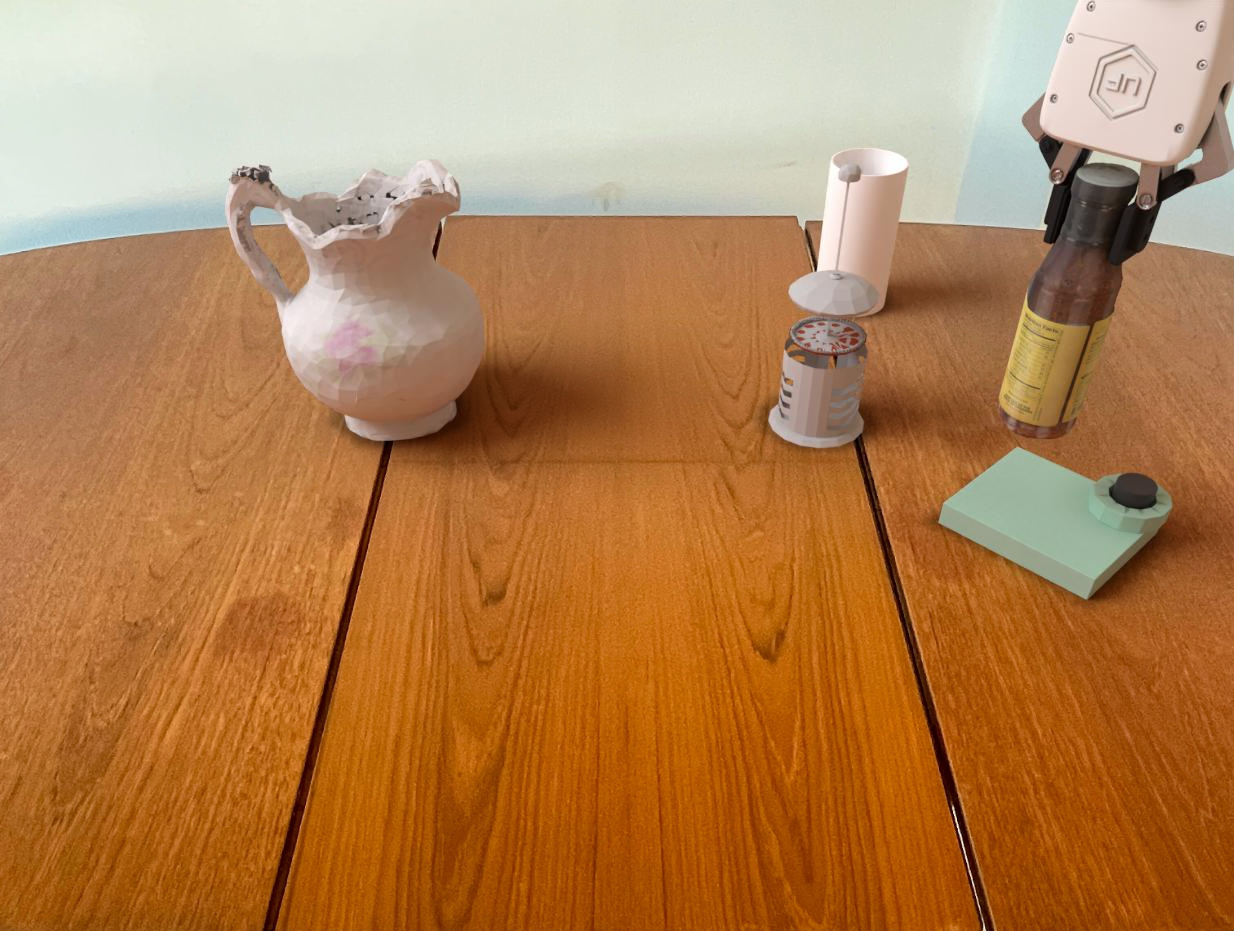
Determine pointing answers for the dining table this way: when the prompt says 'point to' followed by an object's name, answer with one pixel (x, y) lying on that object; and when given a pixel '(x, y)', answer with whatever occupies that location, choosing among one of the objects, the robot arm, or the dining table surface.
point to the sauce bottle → (1068, 309)
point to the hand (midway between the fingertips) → (1090, 245)
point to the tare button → (1134, 491)
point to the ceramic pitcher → (370, 297)
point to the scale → (1053, 520)
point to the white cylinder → (864, 216)
